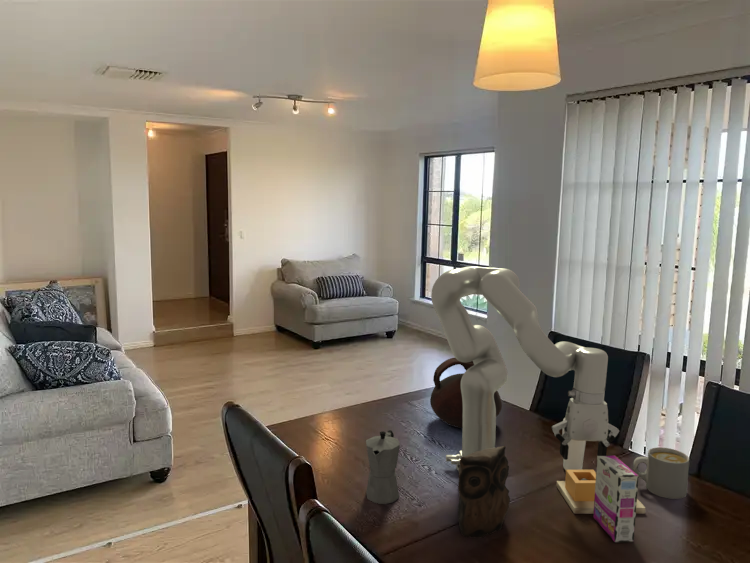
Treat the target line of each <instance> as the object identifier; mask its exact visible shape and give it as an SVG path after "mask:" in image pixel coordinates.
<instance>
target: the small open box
mask: <svg viewBox="0 0 750 563" xmlns="http://www.w3.org/2000/svg"><path fill="white" fill-rule="evenodd" d="M583 478H585V479H587V480H581V479H583ZM564 481H565V488H566V489H567V491H568V492H569V494H570V495H571V497H572V498H573V500H574V501H594V499H595V484H596V470H594V469H582V470H565V480H564Z"/></svg>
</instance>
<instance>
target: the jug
mask: <svg viewBox="0 0 750 563" xmlns="http://www.w3.org/2000/svg"><path fill="white" fill-rule="evenodd" d="M457 365H460V366H462V367H463V369H464V370H465V371H466V370H468V369H469V368H470V367H472V366H474V363H473V361H471V362H467V363H463V362H460V361H458V360H457V359H456V358H455V357H451V358H450V357H449V358H448V359H446V360H444V361H442V362H441V363H440V364H439V365H438V366H437V367H436V369H435V370H434V374H433V383H434V384H433V385H434V387H433V389H432V391H431V394H430V398H429V399H430V401H429V402H430V407H431V409H432V411H433V413H434V414H435V416H437V417H438V419H439V420H441V421H442V422H444V423H445V424H447V425H449V426H451V427H454V428H460V429H462V428H463V401H462V393H461V379H462V376H463V374H464V373H465V372H464V373H455V374H452V375H449V376H447V377H444V378H443V379H441V377H442V374H444V372H445V371H447V370H448V369H450V368H451V367H454V366H457ZM500 395H501V394H499V390H497V391H496V392H494V402H495V407H496V418H497V417H498V415H500V413H501V411H502V407H503V402H502V399H501V396H500Z"/></svg>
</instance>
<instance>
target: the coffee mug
mask: <svg viewBox="0 0 750 563" xmlns="http://www.w3.org/2000/svg"><path fill="white" fill-rule="evenodd" d="M647 452H648V453H647V456H638V457H635V459H634V460H633V463H632V471H634V472H635V473H636V474H637V475H638V476H639V477H638V479H639V478H640V479H642V480H643V481H644V482H645V487H646V489H647V490H648V491H649V492H650V493H652V494H654V495H656V496H659V497H660V498H665V499H669V500H671V499H672V500H679V499H684V498H685V497H686V496H687V492H688V480H689V479H688V478H689V467H690V457H689V456H688V455H687V454H686V453H684V452H682V451H679V450H678V449H675V448H674V449H673V448H669V447H658V446H657V447H652V448H650V449H649V450H648V451H647ZM640 464H644V465H646V468H645V471H643V472H642V471H639V465H640Z"/></svg>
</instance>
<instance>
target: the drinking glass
mask: <svg viewBox="0 0 750 563" xmlns="http://www.w3.org/2000/svg"><path fill="white" fill-rule="evenodd" d="M564 420H565V417H564V418H563V419H562V421H564ZM561 430H562V434H563V433H564V432H565V431H564V428H563V429H561ZM562 434H561V435H562ZM586 443H587V441H578V440H572V439H571V440H570V441H569V442H568V443H567V444H568V446H569V449H568V459H567V460H564V458H563V457H562V459H563V462H562V463H563V465H562V466H563V469H564V470H565V471H566V470H583V465H584V463H583V462H584V458H585V457H584V456H585V450H586V445H587V444H586Z"/></svg>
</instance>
